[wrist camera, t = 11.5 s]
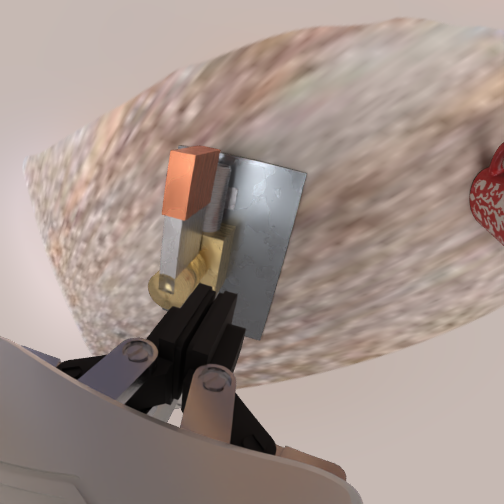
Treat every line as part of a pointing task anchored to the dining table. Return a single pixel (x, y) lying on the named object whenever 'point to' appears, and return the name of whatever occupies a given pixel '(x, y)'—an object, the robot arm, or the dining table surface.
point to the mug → (490, 196)
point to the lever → (184, 224)
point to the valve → (248, 234)
